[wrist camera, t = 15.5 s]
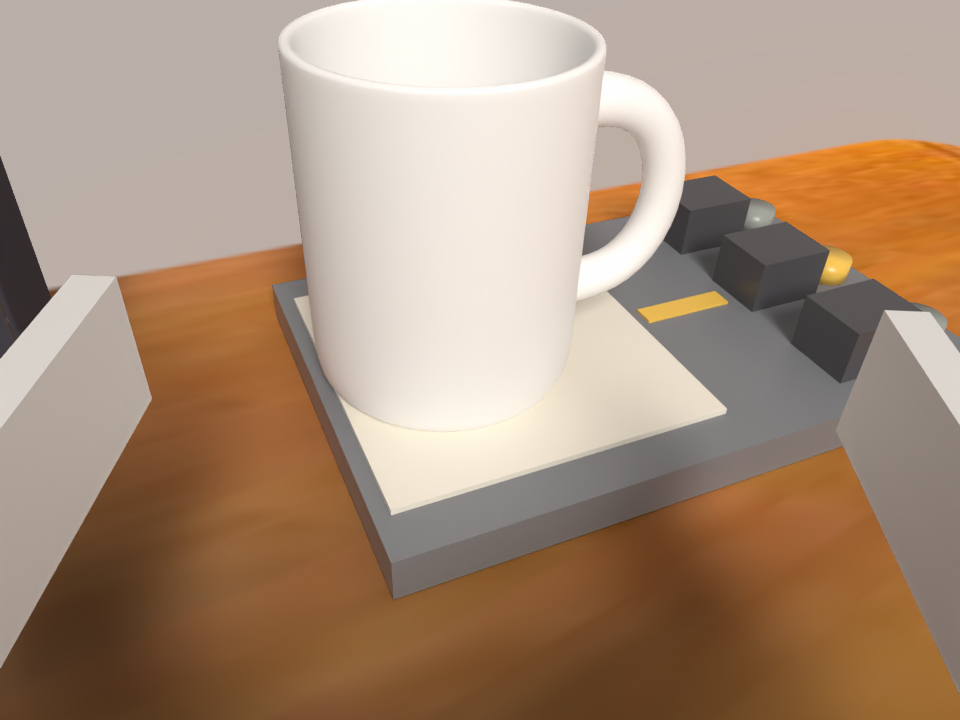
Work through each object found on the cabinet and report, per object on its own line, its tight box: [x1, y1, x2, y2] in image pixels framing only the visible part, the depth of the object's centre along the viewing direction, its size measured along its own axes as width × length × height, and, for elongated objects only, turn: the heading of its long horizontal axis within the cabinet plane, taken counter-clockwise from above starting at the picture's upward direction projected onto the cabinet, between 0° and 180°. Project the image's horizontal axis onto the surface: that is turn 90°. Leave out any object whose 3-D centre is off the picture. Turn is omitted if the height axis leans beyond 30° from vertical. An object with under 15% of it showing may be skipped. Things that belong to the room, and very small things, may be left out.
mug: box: [278, 0, 686, 432], centre depth 24 cm, size 12×8×10 cm
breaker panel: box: [272, 176, 960, 600], centre depth 29 cm, size 22×14×4 cm, turn 114°
